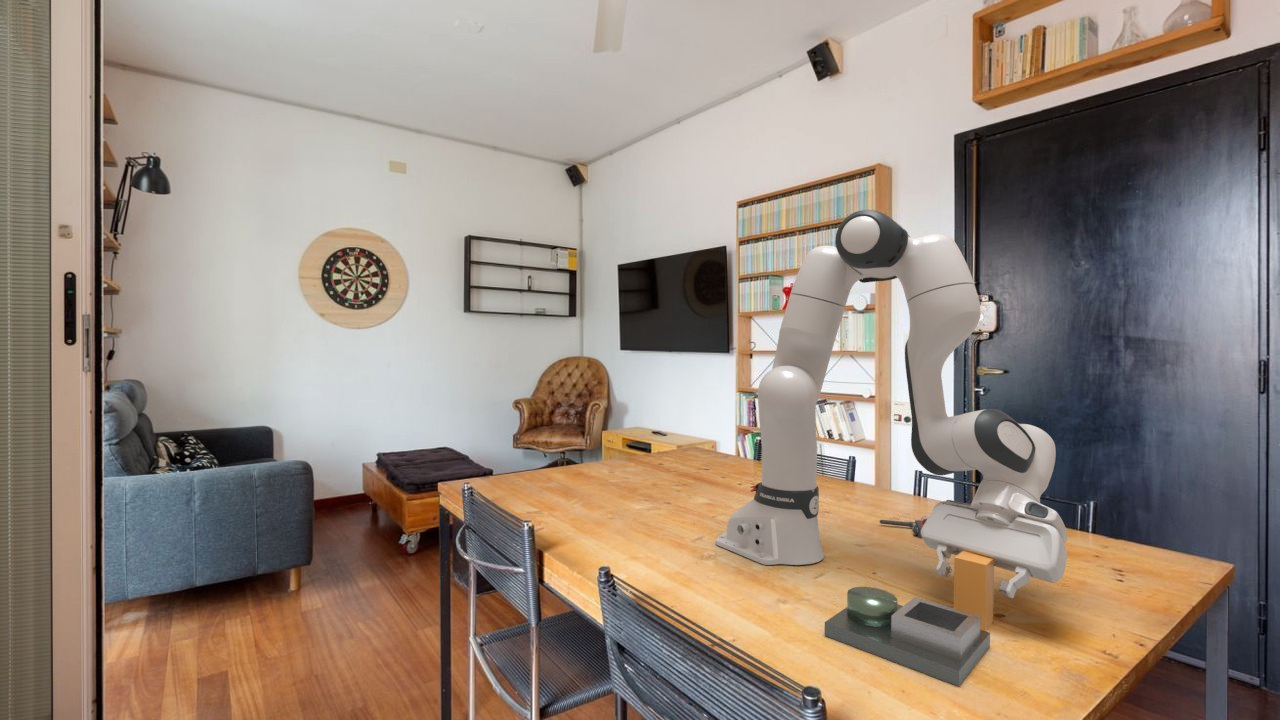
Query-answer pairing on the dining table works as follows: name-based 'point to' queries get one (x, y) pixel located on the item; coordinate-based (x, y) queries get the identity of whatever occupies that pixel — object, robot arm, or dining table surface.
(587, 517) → the dining table surface
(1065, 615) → the dining table surface
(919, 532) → the walkie-talkie
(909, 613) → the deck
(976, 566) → the tall orange prism
